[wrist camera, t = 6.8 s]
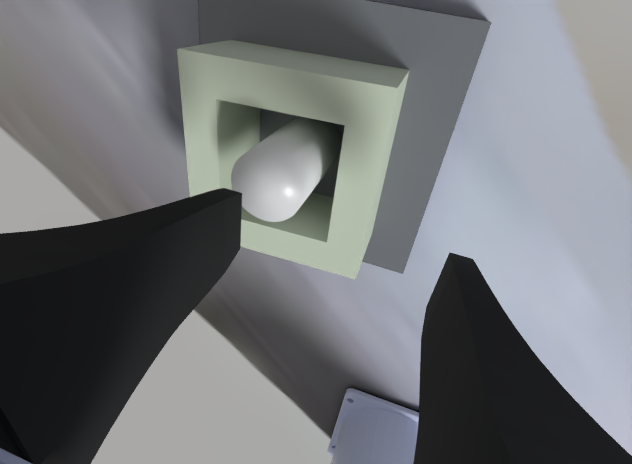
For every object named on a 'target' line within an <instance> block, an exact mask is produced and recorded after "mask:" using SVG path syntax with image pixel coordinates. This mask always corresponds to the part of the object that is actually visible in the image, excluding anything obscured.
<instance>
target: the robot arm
mask: <svg viewBox="0 0 632 464" xmlns="http://www.w3.org/2000/svg"><path fill="white" fill-rule="evenodd" d="M241 211H242V193H240V192H237V191H233V190H230V189H226V188H221V189H216V190H212V191H208V192H205V193H202V194H198V195H195V196H192V197H189V198H185V199H182V200H179V201H176V202H172V203H169V204H166V205H163V206H159V207H155V208H152V209H148V210H144V211H141V212H137V213H133V214H129V215H126V216H121V217H117V218H113V219H108V220H103V221H98V222H93V223H87V224H82V225H76V226H69V227H60V228H52V229H45V230H38V231H28V232H16V233H3V234H0V464H91V462H92V460H93V459H94V456H95V455H96V453H97V451H98V450H99V448H100V446H101V444H102V443H103V441H104V439H105V438H106V436H107V434H108V432H109V431H110V428H111V427H112V426H113V424H114V422H115V421H116V419H117V417H118V416H119V414H120V413H121V411H122V409H123V408H124V406H125V404H126V403H127V401H128V400H129V398H130V396H131V395H132V393H133V392H134V390H135V388H136V387H137V385H138V384H139V382H140V381H141V379H142V378H143V376H144V375H145V373H146V372H147V370H148V369H149V367H150V366H151V364H152V363H153V361H154V360H155V358H156V357H157V356H158V354H159V352H160V351H161V350H162V348H163V347H164V345H165V344H166V342H167V341H168V340H169V338H170V337H171V336H172V334H173V333H174V332H175V330H176V329H177V328H178V327H179V325H180V324H181V323H182V322H183V321H184V319H186V317H187V316H188V315H189V314H190V313H191V312H192V310H193V309H194V308H195V307H196V306H197V305H198V303H199V302H200V301H201V300H202V299H203V298H204V297H205V295H206V294H207V293H208V292H209V291H210V290H211V288H212V287H213V286H214V285H215V284H216V283H217V281H218V280H219V279H220V278H221V277H222V275H223V274H224V273H225V272H226V270H227V268H228V267H229V265H230V264H231V262H232V261H233V259H234V258H235V256H236V254H237V253H238V251H239V249H240V244H241ZM328 453H329V454H330V455H331V456H333V458H332V462H331V464H632V456H631V455H630V454H629V453H628V452H627V451H626V450H625V449H623V448H622V447H621V446H620V445H619V444H618V443H617V442H616V441H615V440H614V439H613V438H612V437H611V436H610V435H609V434H608V433H607V432H606V431H605V430H604V429H603V428H602V427H601V426H600V425H599V424H598V423H597V422H596V421H595V420H594V419H593V418H592V417H591V416H590V415H589V414H588V413H587V412H586V411H585V410H584V409H583V408H582V407H581V406H580V405H579V404H578V403H577V402H576V401H575V400H574V399H573V398H572V396H571V395H570V394H569V393H568V392H567V391H566V390H565V389H564V388H563V387H562V386H561V384H560V383H559V382H558V381H557V380H556V379H555V377H554V376H553V375H552V374H551V373H550V371H549V370H548V369H547V368H546V367H545V366H544V364H543V363H542V362H541V361H540V360H539V358H538V357H537V356H536V355H535V353H534V352H533V351H532V350H531V348H530V347H529V346H528V344H527V343H526V341H525V340H524V339H523V337H522V336H521V335H520V333H519V332H518V330H517V329H516V328H515V326H514V325H513V323H512V322H511V320H510V319H509V318H508V316H507V314H506V313H505V311H504V310H503V308H502V307H501V305H500V304H499V302H498V300H497V299H496V297H495V296H494V294H493V292H492V291H491V289H490V287H489V286H488V284H487V282H486V281H485V279H484V277H483V275H482V274H481V272H480V270H479V268H478V267H477V265H476V263H475V262H474V260H473V259H471V258H467V257H464V256H460V255H457V254H453V253H449V255H448V258H447V260H446V262H445V265H444V267H443V269H442V272H441V274H440V277H439V279H438V281H437V284H436V286H435V288H434V291H433V293H432V295H431V298H430V300H429V302H428V305H427V307H426V313H425V319H424V325H423V331H422V338H421V364H420V399H419V413H418V412H416V411H413V410H410V409H408V408H405V407H402V406H399V405H397V404H394V403H391V402H389V401H386V400H383V399H380V398H378V397H375V396H372V395H370V394H367V393H364V392H361V391H359V390H356V389H353V388H349V389H347V390H346V393H345V396H344V399H343V403H342V406H341V409H340V412H339V415H338V419H337V422H336V425H335V428H334V431H333V435H332V438H331V441H330V444H329V448H328Z"/></svg>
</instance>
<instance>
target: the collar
mask: <svg viewBox="0 0 632 464" xmlns="http://www.w3.org/2000/svg"><path fill="white" fill-rule="evenodd" d="M177 56H178V67H179V78H180V90H181V101H182V112H183V123H184V135H185V146H186V157H187V168H188V180H189V191H190V197H192V196H195V195H198V194H202V193H205V192H208V191H212V190H216V189H221V188H226V189H230V190H233V188H232V184H231V173H232V169H233V166H234V164H235V162H236V161H237V160H238V158H240V157H241V156H242V155H243V154H245V153H246V152H247V151H249V150H250V149H252V148H253V147H254V146H256V145H257V144H259V142H260V108H262V109H267V110H272V111H277V112H281V113H286V114H291V115H296V116H301V117H306V118H311V119H316V120H321V121H325V122H330V123H335V124H340V125H345V127H344V134H343V140H342V147H341V154H340V160H339V167H338V173H337V180H336V186H335V193H334V198H332V197H328V196H324V195H320V194H316V193H312V192H311V194H310V195H309V196H308V198H307V199H306V200H305V202H304V203H303V204H302V206H301V207H300V208H299V210H298V211H297V212H296V213H295V214H294V215H293V216H292V217H290V218H289V219H287V220H284V221H280V222H269V221H264V220H261V219H259V218H257V217H255V216H253V215H252V214H250V213H249V212H248V211H247V210H245V209H244V208H243V206H242V211H241V244H240V247H244V248H247V249H251V250H254V251H258V252H261V253H265V254H268V255H272V256H275V257H279V258H282V259H286V260H289V261H293V262H296V263H300V264H303V265H306V266H310V267H313V268H317V269H320V270H324V271H327V272H331V273H334V274H338V275H341V276H345V277H348V278H352V279H355V280H356V277H357V274H358V271H359V268H360V266H361V263H362V260H363V257H364V254H365V252H366V249H367V246H368V243H369V240H370V238H371V235H372V231H373V227H374V222H375V218H376V214H377V209H378V205H379V201H380V196H381V192H382V188H383V183H384V179H385V175H386V170H387V166H388V162H389V157H390V153H391V149H392V144H393V140H394V136H395V131H396V127H397V123H398V118H399V114H400V110H401V105H402V101H403V96H404V92H405V88H406V83H407V79H408V75H409V70H407V69H401V68H396V67H390V66H384V65H378V64H372V63H366V62H360V61H354V60H348V59H342V58H336V57H330V56H324V55H318V54H312V53H306V52H300V51H294V50H288V49H282V48H276V47H270V46H264V45H259V44H253V43H247V42H241V41H235V40H227V41H221V42H215V43H209V44H203V45H196V46H190V47H184V48H178V49H177Z"/></svg>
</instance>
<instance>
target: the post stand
mask: <svg viewBox="0 0 632 464" xmlns="http://www.w3.org/2000/svg"><path fill="white" fill-rule="evenodd" d="M198 5H199V35H200V45H203V44H209V43H215V42H221V41H227V40H235V41H241V42H247V43H253V44H259V45H264V46H270V47H276V48H282V49H288V50H294V51H300V52H306V53H312V54H318V55H324V56H330V57H336V58H342V59H348V60H354V61H360V62H366V63H372V64H378V65H384V66H390V67H396V68H401V69H407V70H409V75H408V79H407V83H406V88H405V92H404V96H403V101H402V105H401V110H400V114H399V118H398V123H397V127H396V131H395V136H394V140H393V144H392V149H391V153H390V157H389V162H388V166H387V170H386V175H385V179H384V183H383V188H382V192H381V196H380V201H379V205H378V209H377V214H376V218H375V222H374V227H373V231H372V235H371V238H370V240H369V243H368V246H367V249H366V252H365V254H364V257H363V260H362V262H366V263H369V264H372V265H376V266H379V267H382V268H385V269H389V270H392V271H395V272H399V273H402V274H403V272H404V269H405V266H406V263H407V261H408V258H409V255H410V252H411V249H412V246H413V244H414V241H415V238H416V235H417V232H418V229H419V227H420V224H421V221H422V218H423V215H424V212H425V210H426V207H427V204H428V201H429V198H430V195H431V192H432V190H433V187H434V184H435V181H436V178H437V175H438V173H439V170H440V167H441V164H442V161H443V158H444V156H445V153H446V150H447V147H448V144H449V141H450V138H451V136H452V133H453V130H454V127H455V124H456V121H457V119H458V116H459V113H460V110H461V107H462V104H463V102H464V99H465V96H466V93H467V90H468V87H469V85H470V82H471V79H472V76H473V73H474V70H475V67H476V65H477V62H478V59H479V56H480V53H481V50H482V48H483V45H484V42H485V39H486V36H487V33H488V31H489V28H490V25H491V22H490V21H485V20H479V19H473V18H467V17H462V16H456V15H450V14H444V13H439V12H433V11H427V10H421V9H415V8H410V7H404V6H398V5H392V4H386V3H381V2H375V1H369V0H198ZM344 127H345V125H340V124H335V123H330V122H325V121H321V120H316V119H311V118H306V117H301V116H296V115H291V114H286V113H281V112H277V111H272V110H267V109H262V108H260V142H259V144H257V145H256V146H254V147H253V148H252V149H250V150H249V151H247V152H246V153H245V154H243V155H242V156H241V157H240V158H238V160H237V161H236V162H235V164H234V166H233V169H232V173H231V184H232V188H233V191H237V192H240V193H242V206H243V208H244V209H245V210H247V211H248V212H249V213H250V214H252V215H253V216H255V217H257V218H259V219H261V220H264V221H269V222H280V221H284V220H287V219H289V218H290V217H292V216H293V215H294V214H295V213H296V212H297V211H298V210H299V208H300V207H301V206H302V204H303V203H304V202H305V200H306V199H307V198H308V196H309V195H310V194H311V192H312V193H316V194H320V195H324V196H328V197H332V198H334V193H335V186H336V180H337V173H338V167H339V160H340V154H341V147H342V140H343V134H344Z"/></svg>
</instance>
